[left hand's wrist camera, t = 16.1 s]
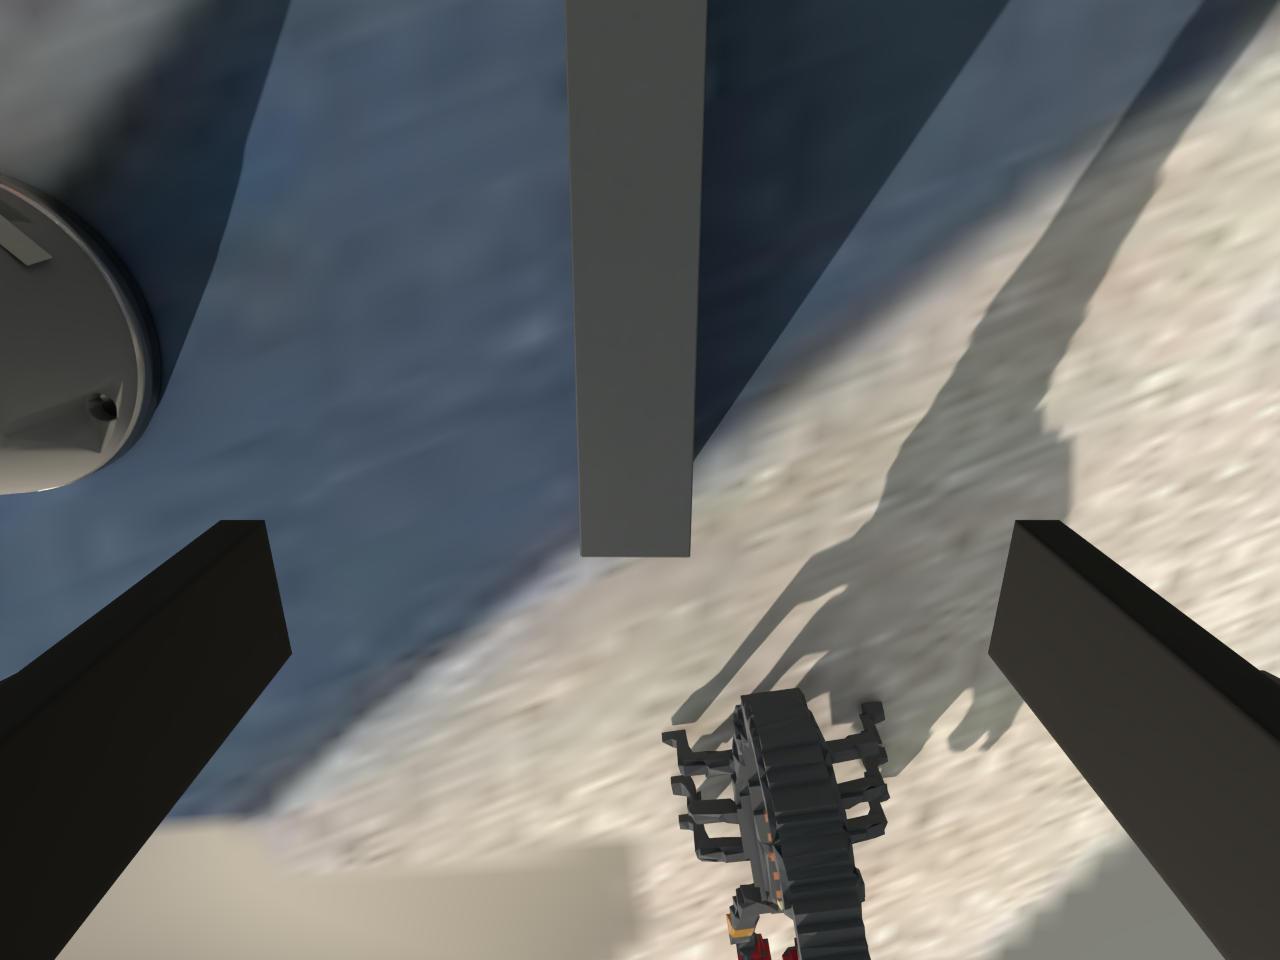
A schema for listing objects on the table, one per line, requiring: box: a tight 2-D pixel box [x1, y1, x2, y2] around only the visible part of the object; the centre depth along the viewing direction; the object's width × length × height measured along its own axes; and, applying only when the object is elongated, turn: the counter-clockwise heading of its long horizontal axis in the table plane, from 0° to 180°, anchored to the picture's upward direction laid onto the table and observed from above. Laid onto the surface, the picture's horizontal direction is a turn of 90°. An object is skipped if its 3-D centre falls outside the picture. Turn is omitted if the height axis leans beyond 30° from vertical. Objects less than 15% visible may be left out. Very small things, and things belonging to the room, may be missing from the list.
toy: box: [662, 688, 890, 960], centre depth 36 cm, size 13×27×18 cm, turn 10°
